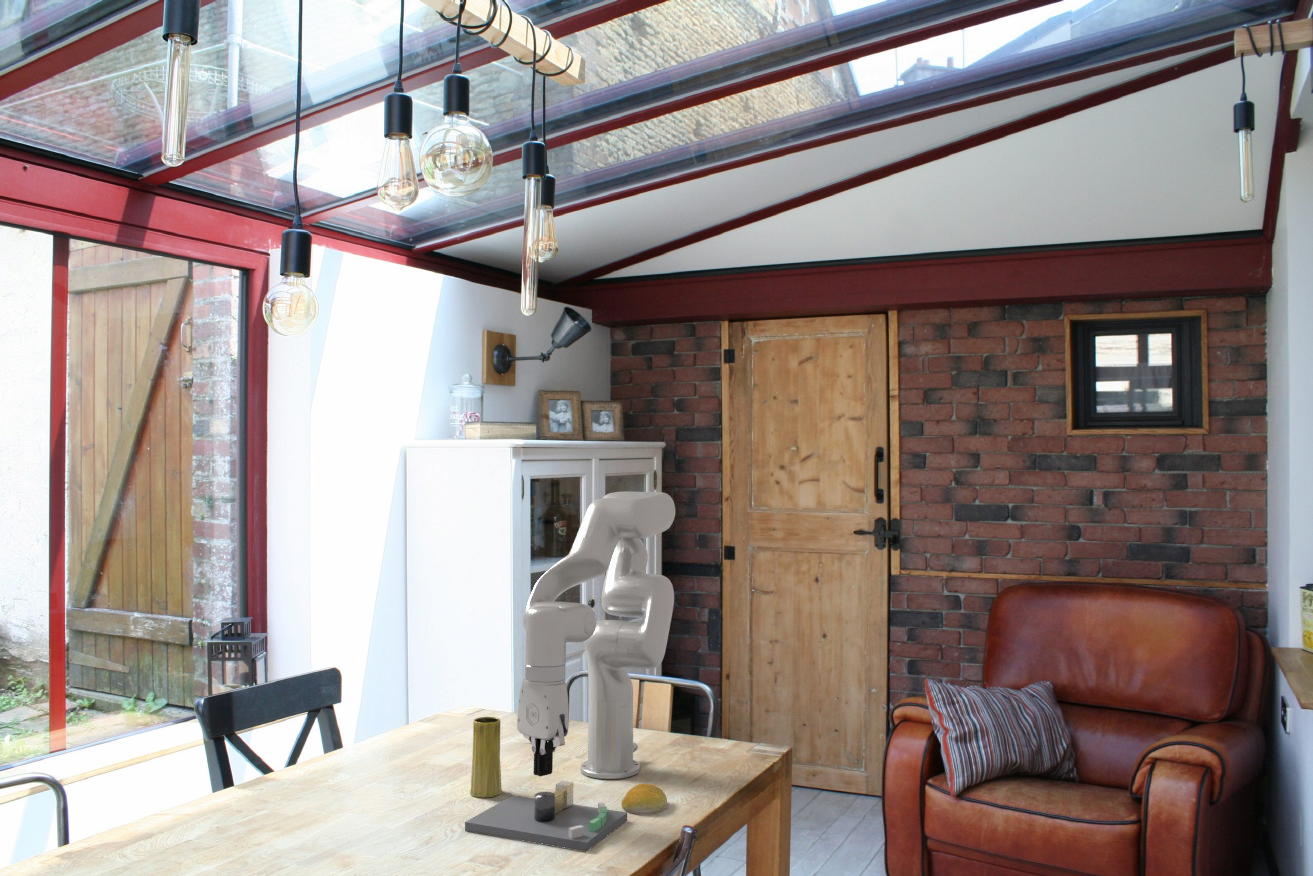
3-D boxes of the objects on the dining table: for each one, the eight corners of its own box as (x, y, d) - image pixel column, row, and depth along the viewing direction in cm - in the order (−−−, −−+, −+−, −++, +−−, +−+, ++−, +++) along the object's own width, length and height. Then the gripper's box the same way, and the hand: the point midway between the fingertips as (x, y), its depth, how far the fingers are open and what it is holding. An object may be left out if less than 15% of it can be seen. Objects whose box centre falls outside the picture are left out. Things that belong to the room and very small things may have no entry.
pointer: (548, 822, 172) (548, 799, 172) (530, 819, 173) (530, 796, 173) (576, 804, 181) (576, 782, 181) (558, 802, 182) (559, 780, 183)
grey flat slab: (512, 803, 187) (513, 787, 187) (627, 821, 177) (627, 804, 177) (464, 830, 172) (465, 813, 172) (586, 851, 163) (586, 833, 163)
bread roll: (618, 815, 181) (618, 793, 181) (628, 799, 190) (628, 778, 190) (662, 818, 180) (662, 796, 180) (670, 802, 188) (670, 781, 189)
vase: (495, 799, 189) (495, 724, 190) (465, 797, 190) (466, 722, 191) (506, 789, 195) (506, 717, 196) (477, 787, 196) (478, 715, 197)
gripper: (504, 671, 185) (502, 770, 184) (555, 681, 175) (553, 787, 174) (535, 666, 191) (533, 763, 189) (587, 676, 180) (585, 779, 179)
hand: (542, 774), depth 181 cm, fingers closed
